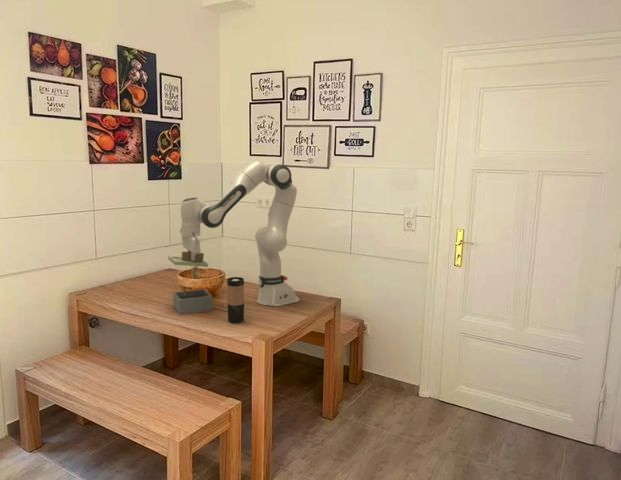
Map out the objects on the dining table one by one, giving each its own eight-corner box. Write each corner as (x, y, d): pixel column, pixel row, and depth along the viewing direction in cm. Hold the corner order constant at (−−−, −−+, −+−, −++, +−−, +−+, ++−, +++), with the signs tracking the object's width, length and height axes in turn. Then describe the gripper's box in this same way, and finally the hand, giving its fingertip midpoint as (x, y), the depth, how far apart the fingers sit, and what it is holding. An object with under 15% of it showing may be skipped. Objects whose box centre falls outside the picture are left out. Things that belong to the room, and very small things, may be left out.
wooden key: (197, 297, 252) (196, 265, 249) (199, 298, 250) (198, 266, 247) (192, 298, 251) (191, 266, 248) (193, 299, 248) (192, 267, 245)
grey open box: (204, 303, 242) (204, 288, 240) (212, 311, 230) (212, 296, 228) (173, 307, 234) (172, 292, 233) (179, 316, 222) (179, 300, 221)
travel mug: (247, 319, 220) (246, 278, 216) (239, 324, 213) (238, 282, 209) (232, 317, 222) (232, 276, 219) (224, 322, 215) (223, 280, 212)
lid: (199, 261, 239) (201, 250, 239) (207, 266, 227) (209, 255, 226) (168, 259, 231) (169, 248, 231) (174, 264, 219) (176, 253, 219)
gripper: (203, 234, 218) (204, 263, 221) (192, 228, 236) (192, 255, 238) (189, 235, 215) (190, 264, 218) (179, 228, 233) (180, 256, 235)
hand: (191, 259), depth 228 cm, fingers closed on lid, 2 cm apart
